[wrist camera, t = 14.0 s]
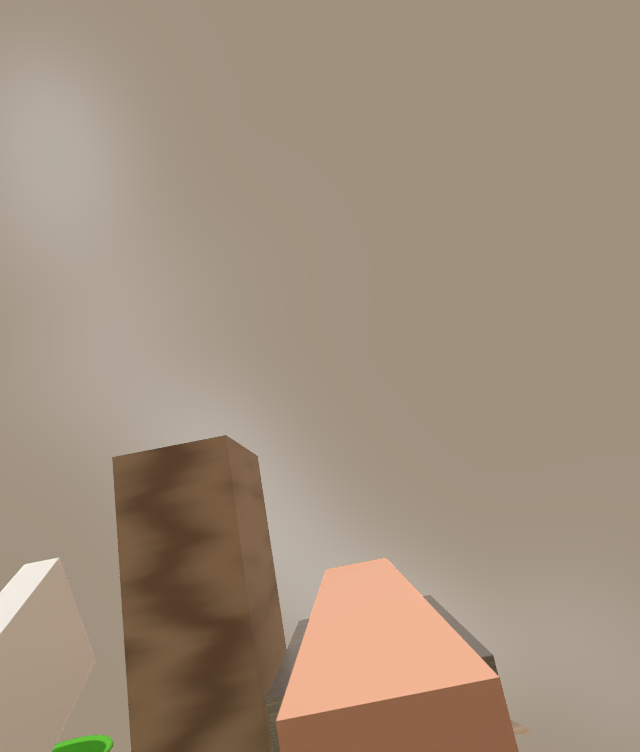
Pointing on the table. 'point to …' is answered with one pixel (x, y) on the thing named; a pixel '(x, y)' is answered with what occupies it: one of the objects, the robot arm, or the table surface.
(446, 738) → the bar
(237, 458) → the post
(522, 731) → the table surface
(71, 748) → the cup
